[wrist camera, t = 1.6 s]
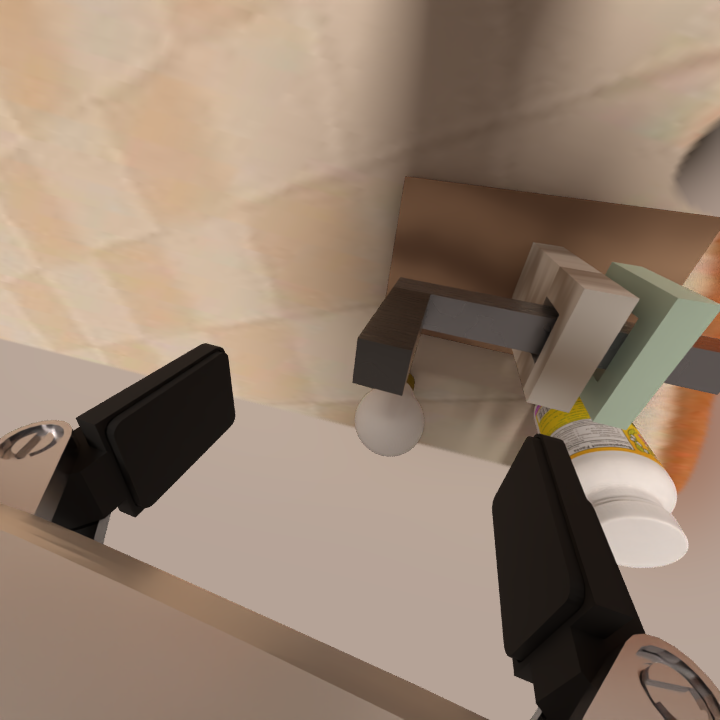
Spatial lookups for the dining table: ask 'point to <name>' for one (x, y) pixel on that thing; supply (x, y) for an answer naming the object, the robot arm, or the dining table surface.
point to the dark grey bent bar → (485, 334)
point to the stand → (543, 265)
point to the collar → (646, 344)
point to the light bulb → (390, 421)
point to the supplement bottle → (620, 486)
